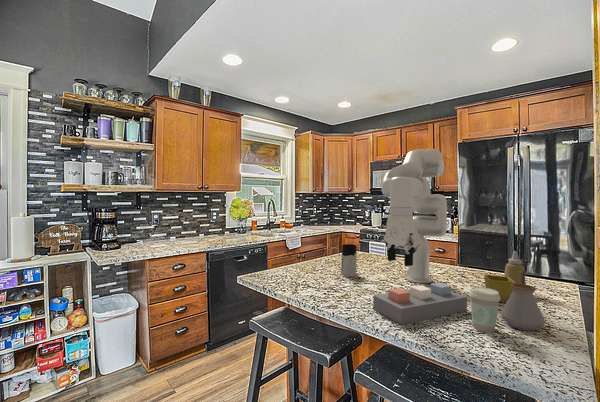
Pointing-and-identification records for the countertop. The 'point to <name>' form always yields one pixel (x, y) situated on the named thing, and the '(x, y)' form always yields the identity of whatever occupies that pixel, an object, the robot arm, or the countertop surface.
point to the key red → (399, 295)
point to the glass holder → (348, 260)
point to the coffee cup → (484, 308)
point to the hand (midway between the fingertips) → (399, 262)
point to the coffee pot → (522, 307)
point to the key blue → (440, 289)
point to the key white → (420, 292)
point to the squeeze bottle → (514, 268)
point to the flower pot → (500, 285)
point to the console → (419, 307)
